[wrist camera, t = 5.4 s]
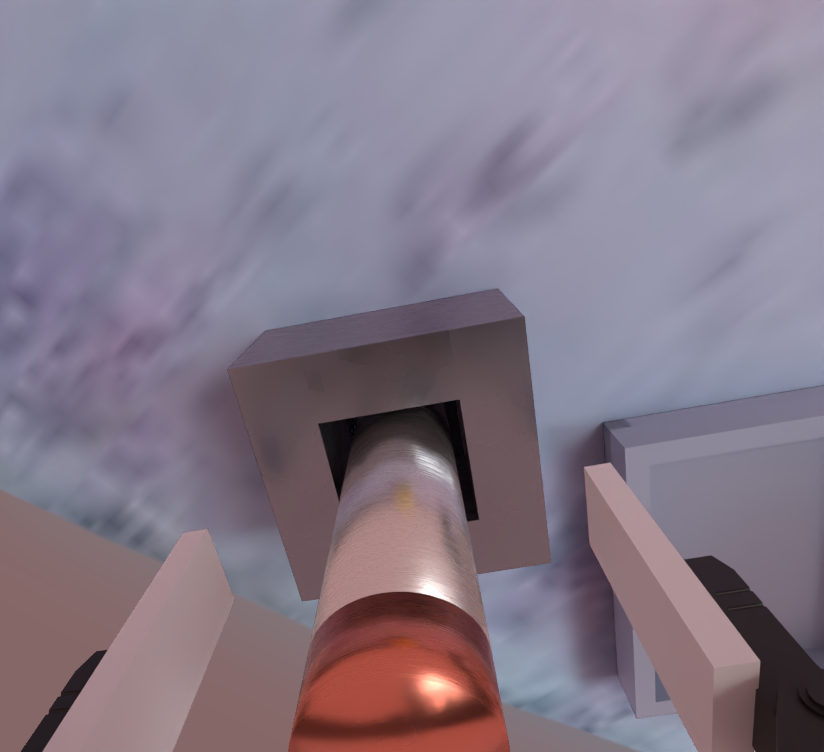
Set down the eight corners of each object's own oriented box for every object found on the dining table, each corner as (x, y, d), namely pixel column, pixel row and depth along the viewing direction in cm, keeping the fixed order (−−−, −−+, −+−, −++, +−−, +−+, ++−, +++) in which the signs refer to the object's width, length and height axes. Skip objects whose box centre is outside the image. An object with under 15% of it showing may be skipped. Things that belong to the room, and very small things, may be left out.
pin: (349, 383, 23) (261, 698, 9) (438, 367, 23) (495, 663, 9) (368, 461, 24) (317, 843, 10) (452, 447, 24) (521, 817, 10)
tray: (602, 422, 24) (624, 448, 21) (871, 377, 23) (924, 398, 21) (617, 675, 29) (636, 718, 27) (835, 644, 28) (874, 685, 26)
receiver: (265, 330, 22) (227, 369, 17) (498, 288, 21) (524, 316, 17) (320, 524, 25) (302, 601, 21) (523, 491, 25) (551, 562, 20)
